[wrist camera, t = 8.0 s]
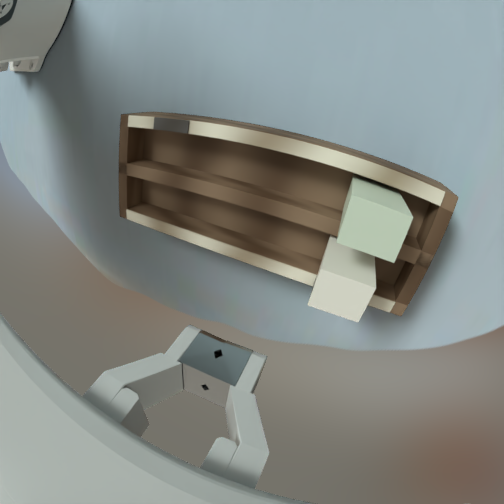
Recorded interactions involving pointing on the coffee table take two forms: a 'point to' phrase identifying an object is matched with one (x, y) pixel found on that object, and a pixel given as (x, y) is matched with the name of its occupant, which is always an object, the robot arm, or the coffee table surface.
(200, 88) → the coffee table surface
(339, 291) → the offwhite block
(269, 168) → the wooden shelf rack
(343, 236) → the sage tab
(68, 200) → the coffee table surface
